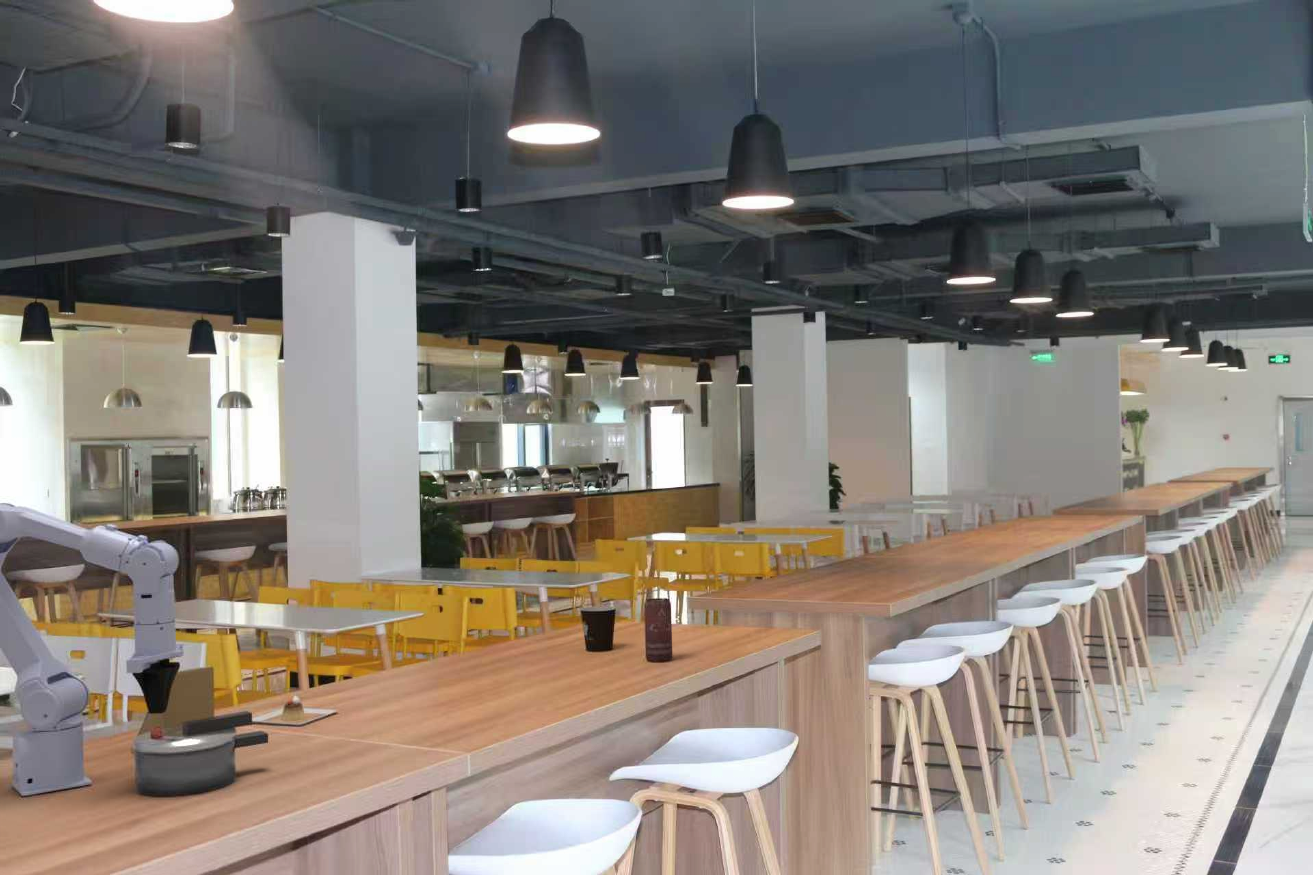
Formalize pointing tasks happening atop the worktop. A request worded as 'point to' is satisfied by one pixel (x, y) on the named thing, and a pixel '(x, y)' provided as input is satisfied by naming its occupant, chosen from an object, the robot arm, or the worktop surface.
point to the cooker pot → (191, 768)
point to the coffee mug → (598, 628)
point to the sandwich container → (185, 700)
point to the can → (658, 630)
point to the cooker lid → (192, 734)
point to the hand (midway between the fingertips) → (157, 712)
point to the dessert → (292, 714)
